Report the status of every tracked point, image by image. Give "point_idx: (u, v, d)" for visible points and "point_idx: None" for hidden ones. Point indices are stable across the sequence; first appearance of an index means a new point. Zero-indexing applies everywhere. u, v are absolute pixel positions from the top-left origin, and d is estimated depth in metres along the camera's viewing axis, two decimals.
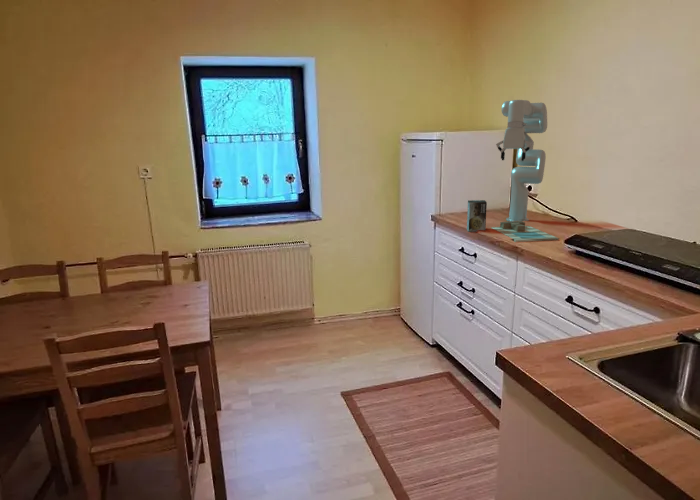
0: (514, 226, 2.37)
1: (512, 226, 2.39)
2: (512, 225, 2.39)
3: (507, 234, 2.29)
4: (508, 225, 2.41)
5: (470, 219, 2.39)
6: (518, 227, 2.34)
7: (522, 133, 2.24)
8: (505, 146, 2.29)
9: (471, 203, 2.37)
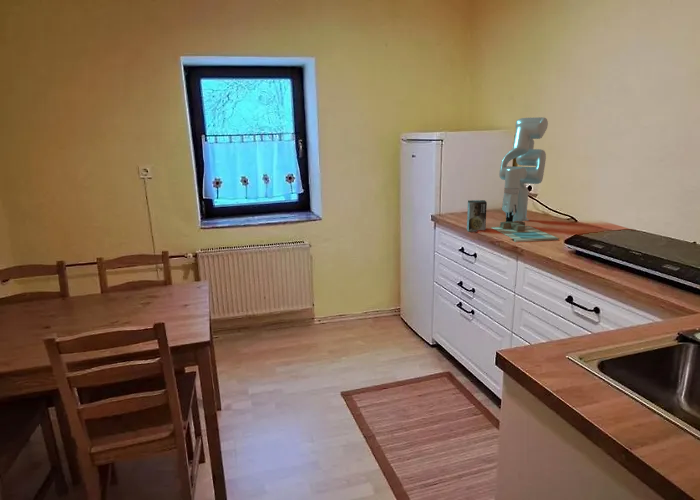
0: (514, 226, 2.37)
1: (512, 226, 2.39)
2: (512, 225, 2.39)
3: (507, 234, 2.29)
4: (508, 225, 2.41)
5: (470, 219, 2.39)
6: (518, 227, 2.34)
7: None
8: None
9: (471, 203, 2.37)
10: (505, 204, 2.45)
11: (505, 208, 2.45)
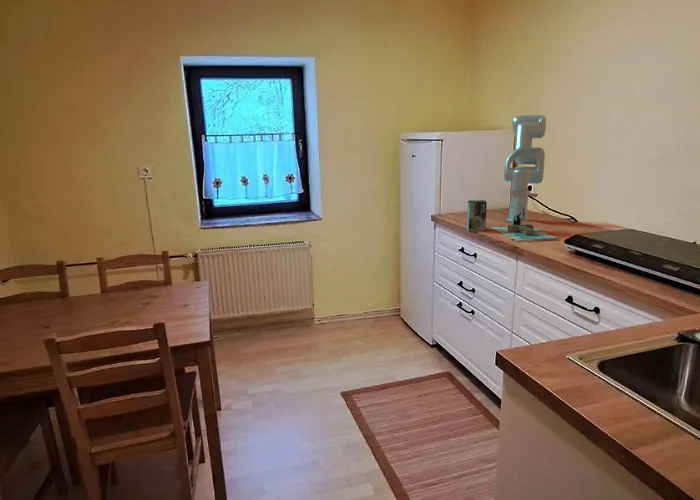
0: (522, 230, 2.29)
1: (520, 230, 2.31)
2: (520, 228, 2.31)
3: (507, 234, 2.29)
4: (516, 229, 2.33)
5: (470, 219, 2.39)
6: (527, 231, 2.25)
7: None
8: None
9: (471, 203, 2.37)
10: (512, 206, 2.36)
11: (512, 211, 2.36)
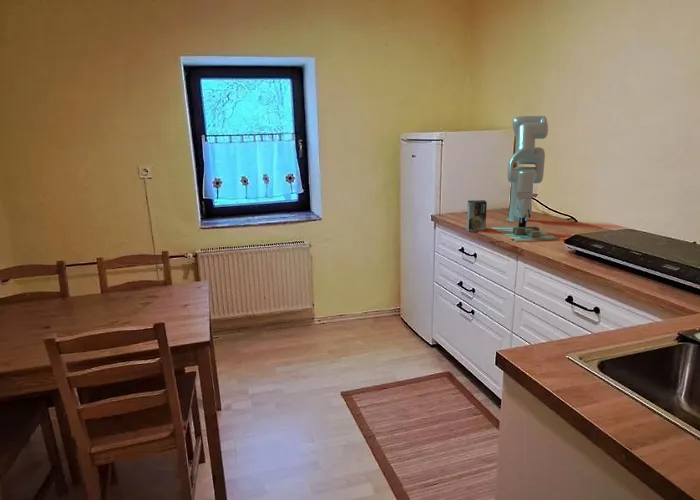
0: (528, 232, 2.23)
1: (526, 232, 2.25)
2: (526, 231, 2.25)
3: (507, 234, 2.29)
4: (522, 231, 2.27)
5: (470, 219, 2.39)
6: (533, 233, 2.20)
7: None
8: None
9: (471, 203, 2.37)
10: (517, 208, 2.31)
11: (518, 213, 2.31)
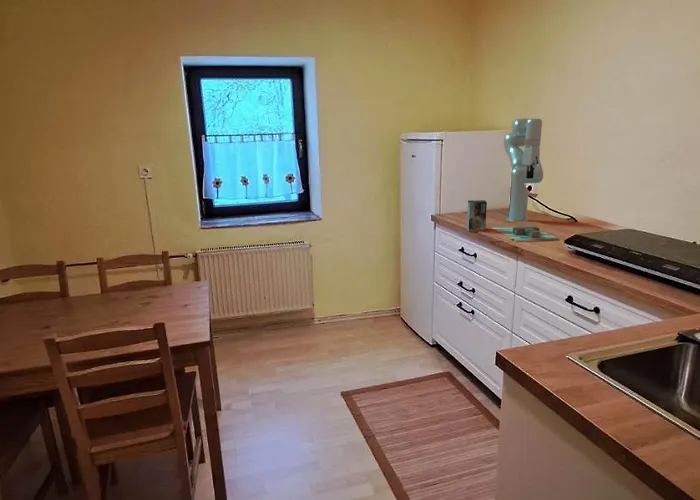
0: (528, 232, 2.23)
1: (526, 232, 2.25)
2: (526, 231, 2.25)
3: (507, 234, 2.29)
4: (522, 231, 2.27)
5: (470, 219, 2.39)
6: (533, 233, 2.20)
7: None
8: None
9: (471, 203, 2.37)
10: (526, 156, 2.38)
11: (526, 161, 2.38)
